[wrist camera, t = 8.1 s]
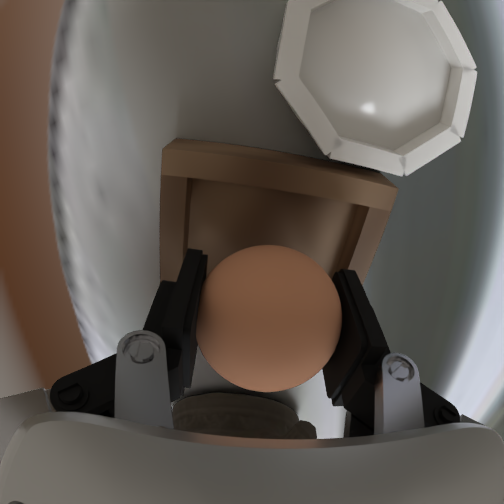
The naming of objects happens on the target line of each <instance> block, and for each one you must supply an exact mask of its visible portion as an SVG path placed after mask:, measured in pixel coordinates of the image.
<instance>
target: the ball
mask: <svg viewBox="0 0 504 504" xmlns="http://www.w3.org/2000/svg"><path fill="white" fill-rule="evenodd" d="M341 328H342V308H341V303H340V298H339V295H338V292H337V290H336V288H335V285H334V284H333V282H332V280H331V278H330V277H329V276H328V274H327V273H326V272H325V271H324V269H323V268H322V267H321V266H320V265H318V264H317V263H316V262H315V261H314V260H313V259H311V258H310V257H308V256H307V255H305V254H303V253H301V252H299V251H296V250H294V249H291V248H288V247H283V246H277V245H259V246H253V247H249V248H245V249H243V250H240V251H238V252H236V253H234V254H232V255H230V256H228V257H227V258H225V259H224V260H223V261H221V262H220V263H219V264H218V265H217V266H216V267H215V268H214V269H213V270H212V271H211V272H210V273H209V275H208V276H207V277H206V279H205V281H204V282H203V285H202V289H201V294H200V301H199V307H198V316H197V326H196V339H197V343H198V345H199V347H200V350H201V352H202V354H203V356H204V357H205V359H206V360H207V362H208V363H209V364H210V366H211V367H212V368H213V369H214V370H215V371H216V372H217V373H218V374H220V375H221V376H222V377H223V378H225V379H226V380H228V381H229V382H231V383H233V384H235V385H237V386H239V387H242V388H245V389H248V390H253V391H259V392H276V391H282V390H286V389H290V388H293V387H296V386H298V385H300V384H302V383H304V382H306V381H307V380H309V379H310V378H312V377H313V376H315V375H316V374H317V373H318V372H319V371H320V370H321V369H322V368H323V367H324V366H325V365H326V363H327V362H328V361H329V359H330V357H331V356H332V354H333V353H334V351H335V349H336V346H337V344H338V341H339V338H340V333H341Z"/></svg>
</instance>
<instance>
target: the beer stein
mask: <svg viewBox="0 0 504 504" xmlns="http://www.w3.org/2000/svg"><path fill="white" fill-rule="evenodd" d="M172 416H173V424H174V430H180V431H186V432H193V433H201V434H209V435H218V436H228V437H241V438H257V439H293V440H296V439H317V435H316V428H315V426H313V425H312V424H311V423H310V422H307V421H302V420H300V421H299V418H298V416H297V414H296V413H295V412H294V411H293V410H292V409H291V408H289V407H288V406H286V405H284V404H282V403H279V402H276V401H274V400H271V399H267V398H263V397H257V396H250V395H244V394H233V393H208V394H202V395H196V396H191V397H186V398H184V399H182V400H180V401H179V402H178V403H176V404H175V406H174V407H173V410H172Z"/></svg>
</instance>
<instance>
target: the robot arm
mask: <svg viewBox="0 0 504 504" xmlns="http://www.w3.org/2000/svg"><path fill="white" fill-rule="evenodd" d="M207 262H208V255H205V254H203V250H198V249H190V248H188V249H187V252H186V255H185V258H184V260H183V263H182V266H181V269H180V272H179V275H178V278H177V281H176V282H173V281H166V280H162V281H161V283H160V286H159V288H158V291H157V293H156V296H155V298H154V301H153V304H152V306H151V309H150V312H149V314H148V317H147V320H146V322H145V325H144V328H143V330H138V331H133V332H130V333H128V334H126V335H125V336H124V337H122V338H121V340H120V341H119V343H118V347H117V353H116V354H114V355H112V356H110V357H107V358H105V359H103V360H101V361H98V362H96V363H94V364H92V365H89V366H87V367H85V368H82V369H80V370H78V371H75V372H73V373H71V374H69V375H66V376H64V377H62V378H60V379H59V380H57V381H56V382H55V383H54V385H53V386H52V388H51V389H48V390H45V389H44V388H40V389H36V390H32V391H28V392H24V393H20V394H17V395H12V396H8V397H4V398H0V504H504V442H503V440H502V438H501V436H500V435H499V434H498V433H497V432H496V431H495V430H494V429H492V428H490V427H487V426H485V425H483V424H481V423H479V422H477V421H475V420H473V419H471V418H469V417H467V416H465V415H463V414H462V415H461V416H460V415H459V413H458V410H457V409H456V408H455V406H454V405H453V404H451V403H450V402H449V401H447V400H446V399H444V398H443V397H441V396H440V395H438V394H437V393H435V392H434V391H432V390H431V389H429V388H428V387H426V386H425V385H423V384H422V383H420V380H419V373H418V369H417V366H416V365H415V363H414V362H413V361H412V360H411V359H410V358H409V357H407V356H405V355H403V354H400V353H390V350H389V347H388V345H387V342H386V340H385V337H384V335H383V332H382V330H381V327H380V325H379V322H378V320H377V317H376V315H375V313H374V310H373V308H372V306H371V305H370V303H369V300H368V298H367V296H366V293H365V291H364V289H363V286H362V284H361V282H360V280H359V277H358V275H357V273H356V271H355V270H349V269H340V270H339V272H335V273H334V275H333V278H332V282H333V284H334V285H335V288H336V290H337V292H338V295H339V298H340V303H341V308H342V328H341V333H340V338H339V341H338V344H337V346H336V349H335V351H334V353H333V354H332V356H331V357H330V359H329V361H328V362H327V363H326V365H325V366H324V367H323V368H322V369H323V375H324V380H325V386H326V392H327V396H328V398H331V399H332V404H333V406H344V408H345V409H346V410H347V411H346V417H345V428H344V437H343V438H333V439H296V440H293V439H257V438H241V437H228V436H218V435H209V434H201V433H193V432H186V431H180V430H174V424H173V416H172V408H171V402H173V401H175V400H177V399H178V398H180V395H182V396H183V394H184V388H185V387H186V388H190V387H191V382H192V376H193V370H194V364H195V358H196V352H197V346H198V343H197V339H196V326H197V316H198V307H199V301H200V294H201V289H202V285H203V282H204V281H205V279H206V273H207Z"/></svg>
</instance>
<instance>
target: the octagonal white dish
mask: <svg viewBox="0 0 504 504" xmlns="http://www.w3.org/2000/svg"><path fill="white" fill-rule="evenodd" d="M475 68H477V67H476V65H475V63H474V61H473V58H472V56H471V54H470V52H469V50H468V48H467V46H466V44H465V42H464V40H463V38H462V36H461V34H460V32H459V30H458V28H457V26H456V24H455V23H454V21H453V19H452V17H451V16H450V14H449V12H448V10H447V9H446V7H445V5H444V4H443V2H442V1H439V2H438V0H288V1H287V4H286V7H285V13H284V18H283V24H282V29H281V33H280V36H279V40H278V44H277V53H276V63H275V68H274V74H273V79H275V80H279V81H278V82H276V83H275V84H274V85H275V86H276V88H277V89H278V90H279V92H280V93H281V94H282V96H283V97H284V98H285V100H286V101H287V103H288V105H289V106H290V108H291V109H292V111H293V113H294V114H295V116H296V117H297V118H298V119H299V120H300V122H301V123H302V124H303V125H304V126H305V128H306V129H307V131H308V132H309V134H310V135H311V137H312V138H313V140H314V141H315V143H316V144H317V146H318V147H319V149H320V150H321V151H322V152H323V153H324V155H327V156H328V157H329V158H330V159H334V160H339V161H343V162H348V163H352V164H356V165H360V166H364V167H368V168H372V169H376V170H380V171H384V172H387V173H391V174H395V175H398V176H403V174H405V175H406V176H407V175H409V174H410V173H412V172H414V171H415V170H417V169H418V168H420V167H422V166H423V165H425V164H426V163H428V162H429V161H431V160H433V159H434V158H436V157H437V156H439V155H440V154H442V153H444V152H445V151H447V150H448V149H450V148H451V147H453V146H454V145H456V144H458V143H459V142H461V140H460V137H462V138H463V137H464V133H465V129H466V125H467V121H468V117H469V113H470V108H471V104H472V99H473V94H474V88H475V83H476V77H477V72H476V71H475V70H473V69H475ZM459 136H460V137H459Z"/></svg>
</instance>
